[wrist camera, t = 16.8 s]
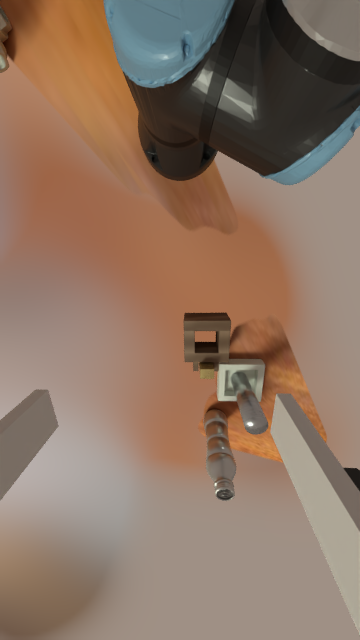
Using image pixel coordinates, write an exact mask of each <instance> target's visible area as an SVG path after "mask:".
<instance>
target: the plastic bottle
mask: <svg viewBox="0 0 360 640" xmlns="http://www.w3.org/2000/svg"><path fill="white" fill-rule="evenodd" d="M203 423H204V428H205V431H206V437H207V459H206V469H207V472H208V474H209V476H210V477H211V479H212V480H213V481H214V488H215V494H216V497H217V498H218V499H220V500H223V501H227V500H231V499H233V498H234V496H235V493H234V485H233V482H232V480H233V478H234V476H235V473H236V463H235V460H234V457H233V454H232V451H231V448H230V443H229V439H228V421H227V418H226V415H225V414H224V413H223V412H222V411H220V410H217V409H213V410H210V411H208V412H207V413H206V414H205V416H204V421H203Z"/></svg>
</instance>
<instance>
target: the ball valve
mask: <svg viewBox="0 0 360 640" xmlns="http://www.w3.org/2000/svg"><path fill="white" fill-rule="evenodd" d="M11 29H12V27H11V24H10V21H9V19H8V17H7V16H6V14H5V12H4V10H3V9H2V7H1V6H0V73H2V72H4V71H6V70H7V69H8V68H9V64H8V61H7V52H6V49H5V47H4V45H3V42H4V41H5V40H6V39H8V34H7V33H8V32H9V31H10V30H11Z"/></svg>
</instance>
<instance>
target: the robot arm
mask: <svg viewBox="0 0 360 640" xmlns="http://www.w3.org/2000/svg"><path fill="white" fill-rule="evenodd" d="M103 1H104V8H105V14H106V19H107V23H108V26H109V30H110V33H111V36H112V39H113V44H114V50H115V53H116V56H117V60H118V63H119V65H120V67H121V69H122V71H123V73H124V76H125V78H126V81H127V83H128V86H129V88H130V91H131V93H132V96H133V98H134V101H135V103H136V106H137V108H138V111H139V115H138V132H139V138H140V142H141V146H142V148H143V151H144V153H145V155H146V157H147V159H148V161H149V163H150V164H151V165H152V167H153V168H154V169H155V170H156V171H157V172H158V173H160V174H161V175H162V176H164V177H166V178H168V179H171V180H177V181H184V180H189V179H192V178H194V177H196V176H198V175H200V174H201V173H202V172H204V171H205V170H206V169H207V168H208V167H209V165H210V164H211V163H212V161H213V159H214V158H215V156H216V154H217V151H219V152H221V153H223V154H225V155H227V156H228V157H230V158H232V159H234V160H236V161H237V162H239V163H241V164H243V165H245V166H246V167H248V168H250V169H252V170H254V171H256V172H257V173H259V174H260V176H262V177H265V178H270V179H272V180H274V181H276V182H278V183H281V184H283V185H293V184H297V183H299V182H301V181H303V180H305V179H307V178H308V177H310V176H311V175H313V174H314V173H315V172H317V171H318V170H319V169H320V168H322V167H323V166H324V165H325V164H326V163H327V162H328V161H330V160H331V159H332V158H333V157H334V156H335V155H336V154H337V153H338V152H339V151H340V150H341V149H342V148H343V147H344V146H345V145H346V144H347V142H348V141H349V140H350V139H351V138H352V137H353V135H354V131H355V130H356V129H357V128H358V127H359V126H360V0H103ZM57 427H58V422H57V419H56V415H55V412H54V409H53V405H52V402H51V398H50V395H49V391H48V390H35V391H34V392H32V393H31V394H30V395H29V396H28V397H27V398H26V399H24V400H23V401H22V402H21V403H20V404H19V405H18V406H16V407H15V408H14V409H13V410H12V411H10V412H9V413H8V414H7V415H6V416H5V417H4V418H2V419H1V420H0V500H1V499H2V498H3V496H4V495H5V494H6V493H7V491H8V490H9V489H10V488H11V486H12V485H13V484H14V482H15V481H16V480H17V478H18V477H19V476H20V475H21V473H22V472H23V471H24V469H25V468H26V467H27V466H28V464H29V463H30V462H31V461H32V459H33V458H34V457H35V456H36V454H37V453H38V451H39V450H40V449H41V448H42V446H43V445H44V444H45V443H46V441H47V440H48V439H49V438H50V436H51V435H52V433H53V432H54V431H55V430H56V428H57ZM271 435H272V437H273V439H274V441H275V444H276V446H277V448H278V450H279V453H280V455H281V457H282V460H283V462H284V464H285V466H286V469H287V471H288V473H289V476H290V478H291V480H292V482H293V485H294V487H295V489H296V492H297V494H298V496H299V498H300V501H301V503H302V505H303V507H304V510H305V512H306V514H307V516H308V519H309V521H310V523H311V526H312V528H313V530H314V533H315V535H316V537H317V539H318V542H319V544H320V546H321V548H322V551H323V553H324V555H325V558H326V560H327V562H328V565H329V567H330V569H331V571H332V574H333V576H334V578H335V580H336V583H337V585H338V587H339V590H340V592H341V594H342V597H343V599H344V601H345V603H346V606H347V608H348V610H349V612H350V615H351V617H352V619H353V622H354V624H355V626H356V628H357V631H358V633H359V635H360V470H358V469H357V468H343V467H342V466H341V464H340V463H339V461H338V460H337V459H336V457H335V456H334V454H333V453H332V451H331V450H330V449H329V447H328V446H327V444H326V443H325V442H324V440H323V439H322V437H321V436H320V434H319V433H318V432H317V430H316V429H315V427H314V426H313V425H312V423H311V422H310V420H309V419H308V417H307V416H306V415H305V413H304V412H303V410H302V409H301V407H300V406H299V405H298V403H297V402H296V400H295V399H294V398H293V396H292V395H291V394H276V400H275V406H274V413H273V419H272V426H271Z"/></svg>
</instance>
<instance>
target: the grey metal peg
mask: <svg viewBox="0 0 360 640" xmlns="http://www.w3.org/2000/svg"><path fill="white" fill-rule="evenodd" d="M230 380H231V383H232V387H233V390H234V393H235V396H236V400H237V403H238V406H239V409H240V413H241V416H242V419H243V422H244V426H245V429H246V430H247V432H249V433H251V434H261V433H263V432H265V431H266V430H267V428H268V422H267V420H266V417H265V415H264V413H263V411H262V408H261V406H260V404H259V402H258V400H257V397H256V395H255V393H254V391H253V389H252V386H251V384H250V382H249V380H248V377H247V375H246V374H245V373H243V372H235V373H233V374H232V376H231V378H230Z"/></svg>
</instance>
